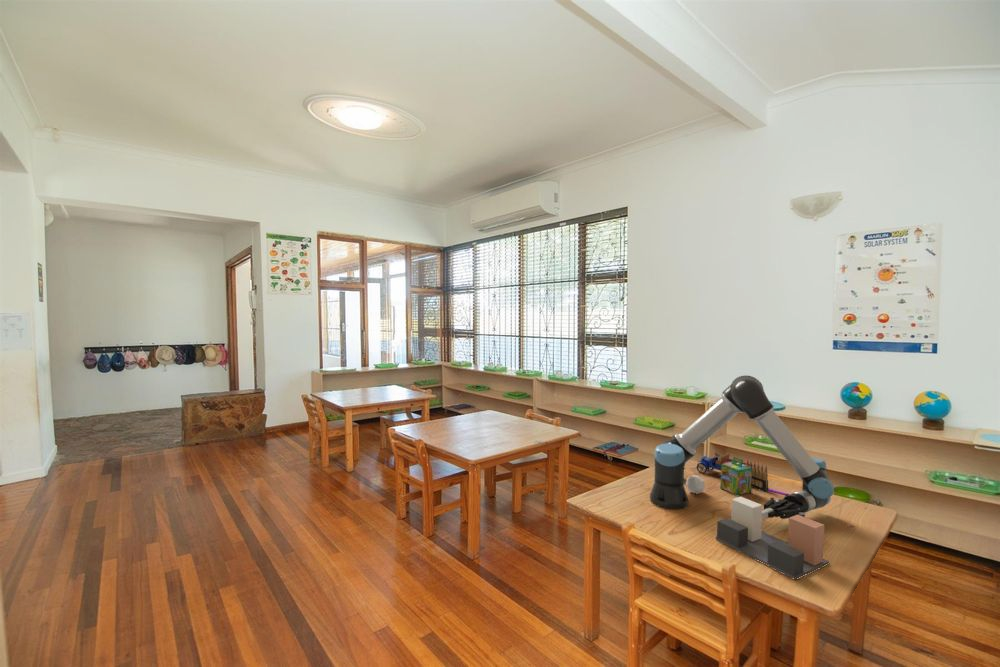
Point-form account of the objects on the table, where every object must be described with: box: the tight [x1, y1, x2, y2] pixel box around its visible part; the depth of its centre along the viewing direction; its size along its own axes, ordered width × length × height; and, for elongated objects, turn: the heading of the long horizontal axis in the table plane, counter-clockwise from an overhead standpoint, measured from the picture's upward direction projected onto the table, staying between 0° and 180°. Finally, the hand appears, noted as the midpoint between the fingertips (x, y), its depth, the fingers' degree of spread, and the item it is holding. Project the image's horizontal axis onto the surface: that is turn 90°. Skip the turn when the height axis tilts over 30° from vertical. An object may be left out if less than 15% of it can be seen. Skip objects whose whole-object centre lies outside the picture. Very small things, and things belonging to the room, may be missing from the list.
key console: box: [715, 517, 830, 580], centre depth 150 cm, size 18×27×7 cm
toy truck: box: [696, 452, 753, 475], centre depth 216 cm, size 8×25×11 cm, turn 37°
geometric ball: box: [685, 474, 706, 495], centre depth 198 cm, size 8×8×8 cm
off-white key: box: [730, 496, 763, 542], centre depth 158 cm, size 5×8×12 cm, turn 27°
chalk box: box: [719, 456, 752, 496], centre depth 200 cm, size 9×9×15 cm
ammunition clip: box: [745, 458, 769, 493], centre depth 203 cm, size 11×2×12 cm, turn 25°
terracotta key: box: [787, 515, 825, 566], centre depth 143 cm, size 5×8×12 cm, turn 27°
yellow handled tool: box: [768, 487, 790, 496], centre depth 195 cm, size 3×1×16 cm
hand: (760, 515), depth 161 cm, fingers closed
